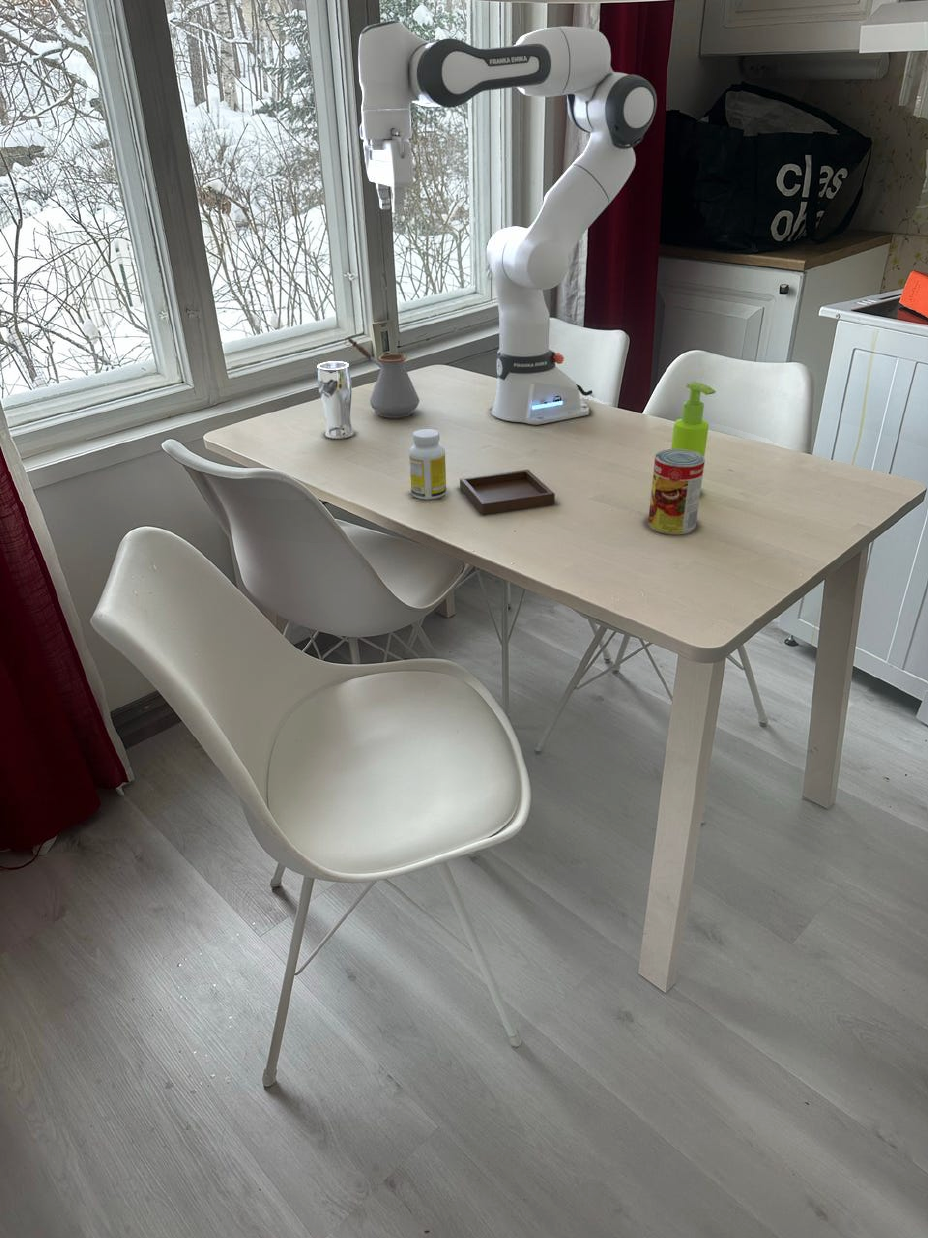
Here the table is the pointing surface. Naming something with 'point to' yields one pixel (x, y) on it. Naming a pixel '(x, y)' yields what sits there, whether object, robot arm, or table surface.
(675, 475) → the canned food
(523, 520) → the table surface
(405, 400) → the coffee pot
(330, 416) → the beer glass
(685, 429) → the soap dispenser
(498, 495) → the tray
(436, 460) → the pill bottle
